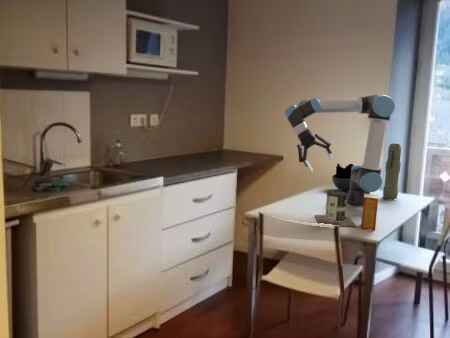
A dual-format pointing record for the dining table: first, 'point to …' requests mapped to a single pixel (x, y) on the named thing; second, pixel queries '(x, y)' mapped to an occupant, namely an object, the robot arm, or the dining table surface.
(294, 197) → the dining table surface
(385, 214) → the dining table surface
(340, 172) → the coal bowl
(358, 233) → the dining table surface
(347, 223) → the walnut board
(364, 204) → the baking soda box
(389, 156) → the olive green rough column
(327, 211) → the coffee can
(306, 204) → the dining table surface
